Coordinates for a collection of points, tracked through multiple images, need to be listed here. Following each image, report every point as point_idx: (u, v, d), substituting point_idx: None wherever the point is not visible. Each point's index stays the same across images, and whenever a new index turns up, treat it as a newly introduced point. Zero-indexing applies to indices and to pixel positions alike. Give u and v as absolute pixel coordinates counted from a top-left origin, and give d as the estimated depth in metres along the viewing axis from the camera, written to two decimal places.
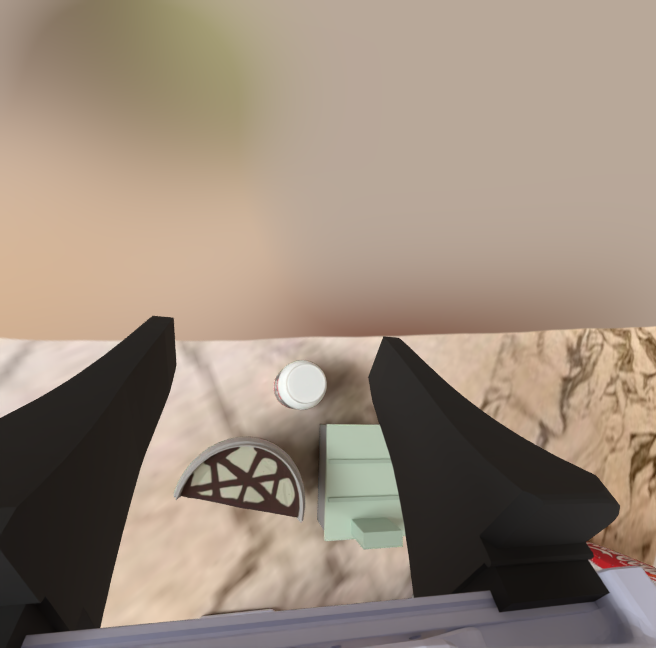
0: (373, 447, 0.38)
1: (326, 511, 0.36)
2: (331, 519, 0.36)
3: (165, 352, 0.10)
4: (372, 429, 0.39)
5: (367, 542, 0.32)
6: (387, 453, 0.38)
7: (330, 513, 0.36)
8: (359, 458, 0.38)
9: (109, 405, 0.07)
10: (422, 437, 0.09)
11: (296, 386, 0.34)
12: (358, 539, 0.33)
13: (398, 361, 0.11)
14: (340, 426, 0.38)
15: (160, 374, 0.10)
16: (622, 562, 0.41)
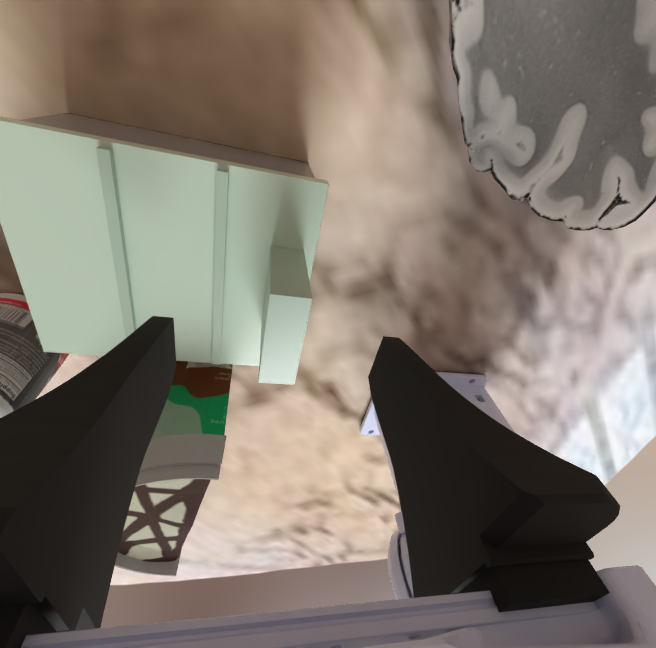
0: (82, 253, 0.13)
1: (239, 363, 0.18)
2: (255, 356, 0.17)
3: (165, 352, 0.10)
4: (24, 247, 0.13)
5: (281, 376, 0.13)
6: (92, 212, 0.12)
7: (244, 357, 0.17)
8: (118, 293, 0.14)
9: (109, 405, 0.07)
10: (422, 437, 0.09)
11: None
12: None
13: (399, 361, 0.11)
14: (41, 326, 0.15)
15: (160, 374, 0.10)
16: None
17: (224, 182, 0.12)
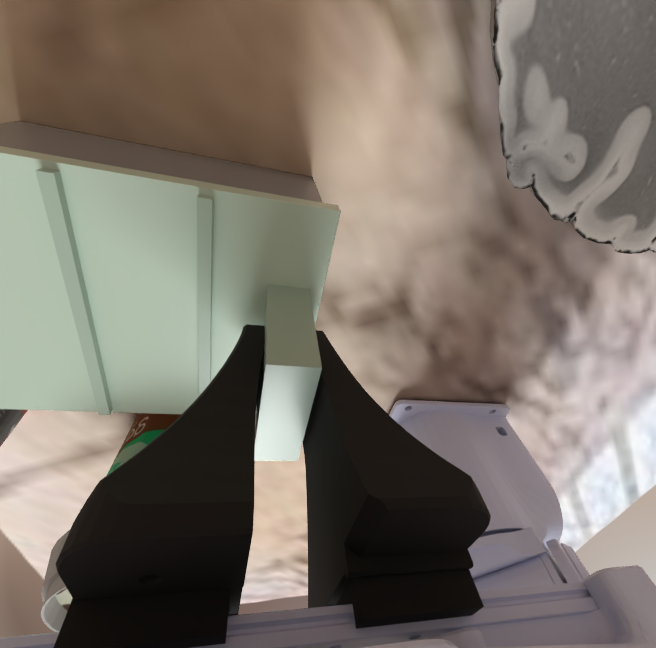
0: (31, 297, 0.11)
1: None
2: None
3: None
4: None
5: (281, 453, 0.10)
6: (40, 249, 0.10)
7: None
8: (80, 343, 0.12)
9: (255, 410, 0.07)
10: (321, 435, 0.09)
11: None
12: None
13: None
14: None
15: (259, 379, 0.10)
16: None
17: (207, 211, 0.10)
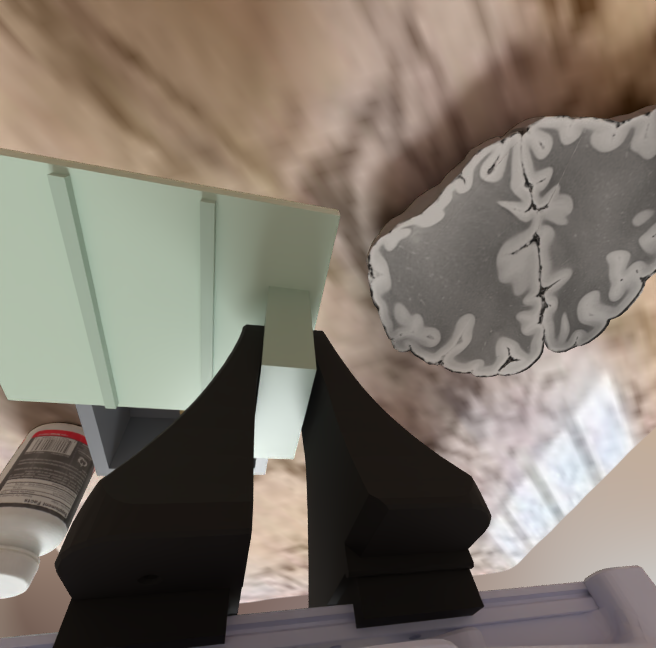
0: (42, 295, 0.11)
1: None
2: None
3: None
4: None
5: (277, 451, 0.11)
6: (51, 249, 0.10)
7: None
8: (88, 339, 0.12)
9: None
10: (321, 435, 0.09)
11: (0, 593, 0.20)
12: None
13: None
14: (2, 374, 0.13)
15: None
16: None
17: (210, 215, 0.10)
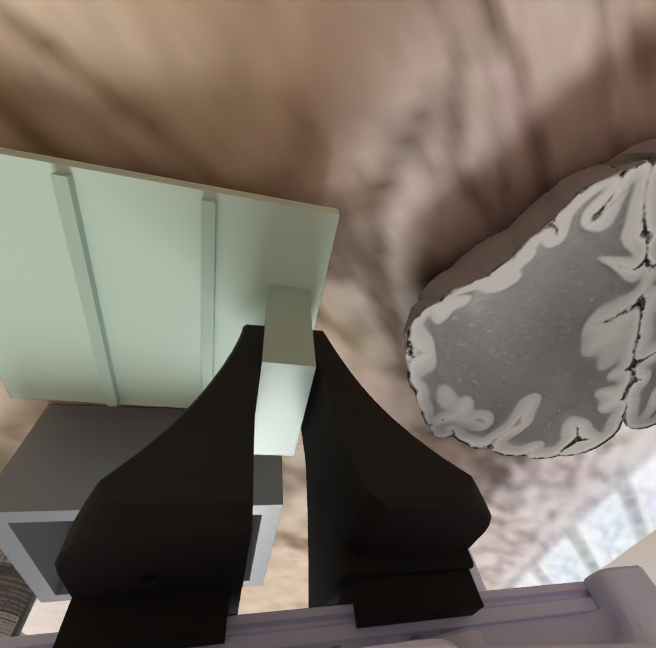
0: (45, 293, 0.11)
1: None
2: None
3: None
4: None
5: (277, 448, 0.11)
6: (53, 248, 0.10)
7: None
8: (90, 337, 0.12)
9: None
10: (321, 435, 0.09)
11: None
12: None
13: None
14: (4, 372, 0.13)
15: None
16: None
17: (211, 214, 0.10)
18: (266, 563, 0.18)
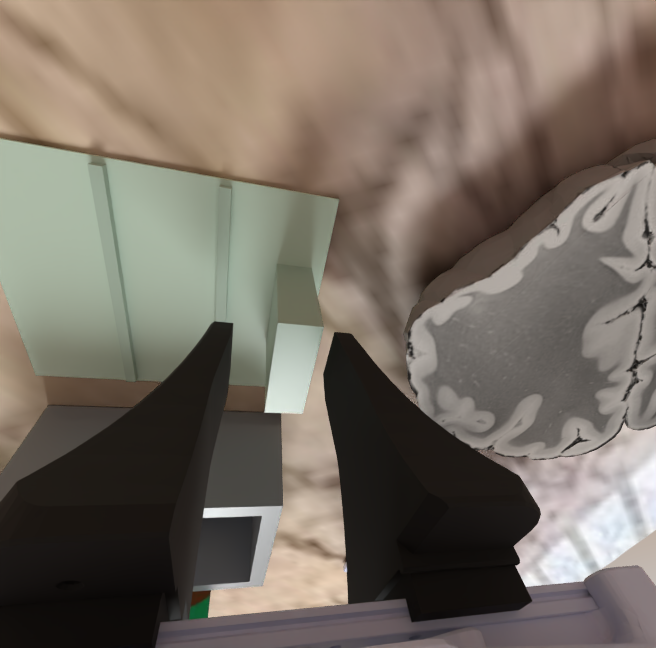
0: (74, 274, 0.12)
1: (243, 383, 0.17)
2: (260, 377, 0.17)
3: (229, 356, 0.10)
4: (12, 268, 0.12)
5: (289, 406, 0.12)
6: (84, 231, 0.12)
7: (247, 378, 0.17)
8: (114, 315, 0.13)
9: (205, 408, 0.07)
10: (359, 436, 0.09)
11: None
12: None
13: (344, 356, 0.10)
14: (32, 350, 0.14)
15: (225, 378, 0.10)
16: None
17: (227, 199, 0.11)
18: (266, 564, 0.18)
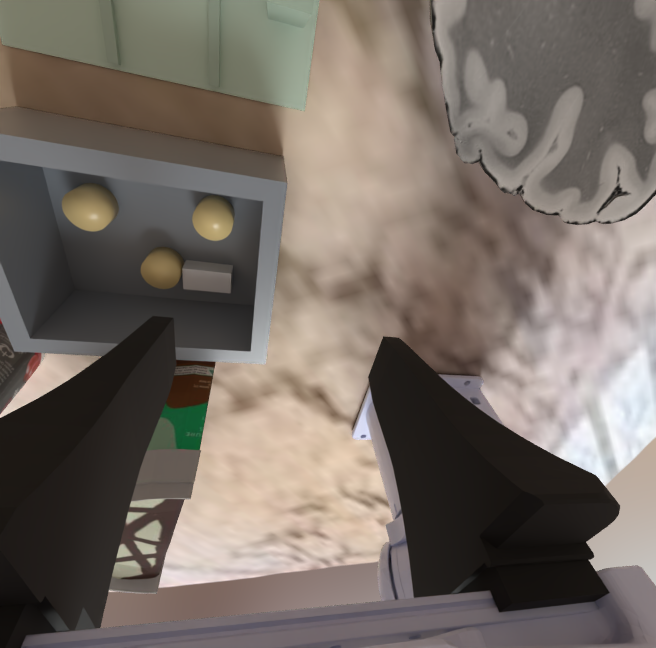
0: None
1: (242, 95, 0.15)
2: (261, 84, 0.15)
3: (165, 352, 0.10)
4: None
5: None
6: None
7: (247, 84, 0.14)
8: None
9: (109, 405, 0.07)
10: (422, 437, 0.09)
11: None
12: (298, 18, 0.12)
13: (398, 360, 0.11)
14: None
15: (160, 374, 0.10)
16: None
17: None
18: (269, 316, 0.16)
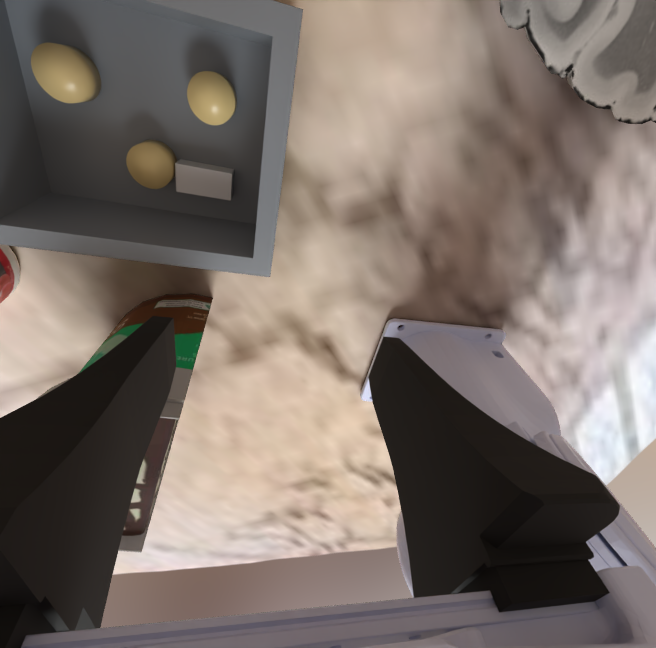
0: None
1: None
2: None
3: (165, 352, 0.10)
4: None
5: None
6: None
7: None
8: None
9: (109, 405, 0.07)
10: (422, 437, 0.09)
11: None
12: None
13: (399, 360, 0.11)
14: None
15: (160, 374, 0.10)
16: None
17: None
18: (276, 210, 0.13)
